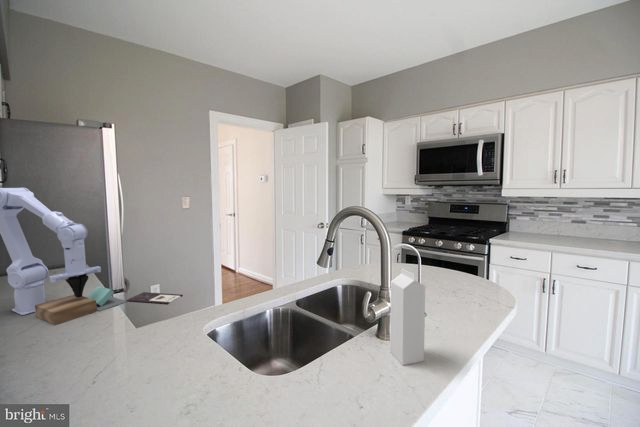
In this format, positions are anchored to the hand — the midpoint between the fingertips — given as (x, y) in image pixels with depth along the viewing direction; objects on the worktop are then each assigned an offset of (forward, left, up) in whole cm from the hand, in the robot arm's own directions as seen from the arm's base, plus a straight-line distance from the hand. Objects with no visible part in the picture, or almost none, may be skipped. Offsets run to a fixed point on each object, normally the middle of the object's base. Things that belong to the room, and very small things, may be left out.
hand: (78, 296), depth 108 cm
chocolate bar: (+14, +19, -6) cm, 24 cm away
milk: (+110, +23, -5) cm, 113 cm away
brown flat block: (0, -4, -5) cm, 6 cm away
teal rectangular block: (0, +6, -1) cm, 6 cm away
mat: (0, +7, -5) cm, 9 cm away
